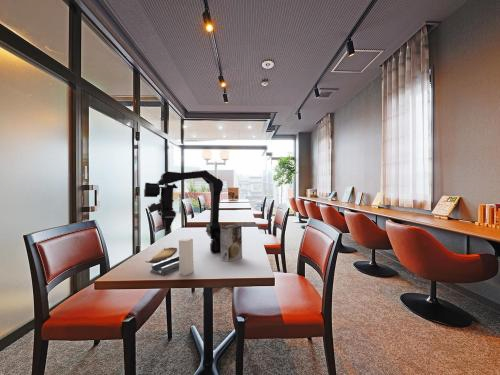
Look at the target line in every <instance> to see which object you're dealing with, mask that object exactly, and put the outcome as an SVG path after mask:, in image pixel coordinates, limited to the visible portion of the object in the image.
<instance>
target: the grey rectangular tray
mask: <svg viewBox="0 0 500 375" xmlns="http://www.w3.org/2000/svg"><path fill="white" fill-rule="evenodd" d="M177 271H179V255H176V256H174V257H173V256H172V257H169V258H167V259H166V260H163V261H161V262H155V263H154V264H151V268H150V273H153V274H157V275H161V276H163V277H164V276H168V275H169V274H172V273H174V272H177Z"/></svg>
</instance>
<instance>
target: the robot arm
mask: <svg viewBox="0 0 500 375" xmlns="http://www.w3.org/2000/svg"><path fill="white" fill-rule="evenodd" d="M192 179H202V180H204V181H205V183H206V184H208V188H209V192H210V216H209V218H210V219H209V222H208V223H209V224H207V223H206V225H205V227H206V229H205V233H206V234H207V236H208V237H209V238H210V243H209V244H210V245H209V247H210V248H209V249H210V250H209V251H210V252H211V253H212V254H219V253H220V254H221V239H220V227H221V226H220V220H219V217H220V215H219V214H220V213H219V212H220V199H221V198H220V197H221V193H222V190H223V187H224V186H223V185H224V181H222V179H221V178H217V177H216V176H214V175H213V174H212V173H210V172H209V171H208V170H204V169H203V170H197V171H187V172H177V171H164V172H163V173H161V175H160V179H159V180H158V181H157V182H155V183H151V182H144V189H143V196H144V197H145V198H157V197H158V196H160V199H159V202H158V201H157V202H153V203H151V204H148V205H147V210H148V211H149V213H150V214H151V213H152V214H153V213H154V212H156V211H157V214H158V215H159V216H160V219H161V224H162V227H163V228H165V231H166V232H168V231H170V227H171V226H172V224H173V222H174V220H175V218H176V217H177V212H176V211H175V210H174V208H173V206H174V204H173V203H174V189H178V188H179V187H178V186H177V185H176V182H180V181H183V180H192Z"/></svg>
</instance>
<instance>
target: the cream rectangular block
mask: <svg viewBox="0 0 500 375" xmlns="http://www.w3.org/2000/svg"><path fill="white" fill-rule="evenodd" d="M178 256H179V270H178V273H179V274H180V275H182V276H187V275H189V274H191V273H193V272H194V239H193V238H190V237H185V238H182V239H179V240H178Z"/></svg>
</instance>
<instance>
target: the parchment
mask: <svg viewBox="0 0 500 375" xmlns="http://www.w3.org/2000/svg"><path fill="white" fill-rule="evenodd" d="M177 249H178V248H177V247H168V248H167V247H166V249H165V248H164V250H162V249H160V250H161V251H160V250H159V251H158V252H156V253H154V255H153V258H151V259H150V261H149V262H150V263H159V262H162V261H165V260H168V259H170V258H171V257H172V255H174V254H175V252H176V250H177ZM145 262H146V263H148V261H145Z"/></svg>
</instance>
